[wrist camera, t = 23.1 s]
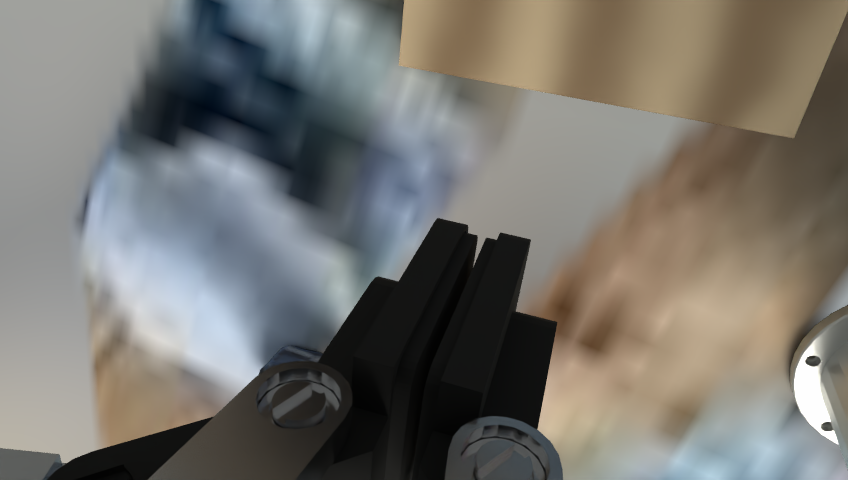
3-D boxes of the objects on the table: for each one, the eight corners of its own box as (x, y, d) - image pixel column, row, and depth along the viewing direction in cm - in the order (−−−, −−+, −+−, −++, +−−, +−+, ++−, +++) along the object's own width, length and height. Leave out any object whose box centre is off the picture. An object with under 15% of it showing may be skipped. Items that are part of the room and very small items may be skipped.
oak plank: (844, -51, 30) (869, -42, 27) (778, 113, 34) (793, 138, 31) (434, -103, 34) (412, -102, 30) (420, 49, 38) (399, 65, 35)
